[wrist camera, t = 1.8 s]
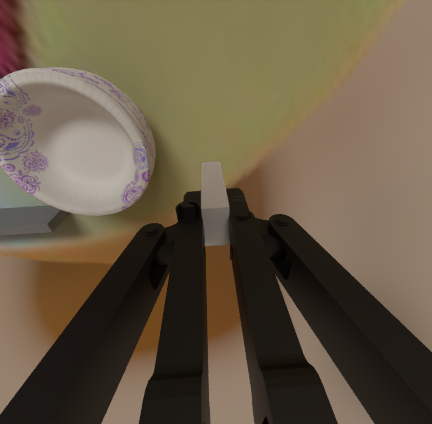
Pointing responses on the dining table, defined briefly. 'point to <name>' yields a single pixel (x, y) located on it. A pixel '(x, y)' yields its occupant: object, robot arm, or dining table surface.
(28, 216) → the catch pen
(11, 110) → the paper bowls
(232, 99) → the dining table surface
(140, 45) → the dining table surface
